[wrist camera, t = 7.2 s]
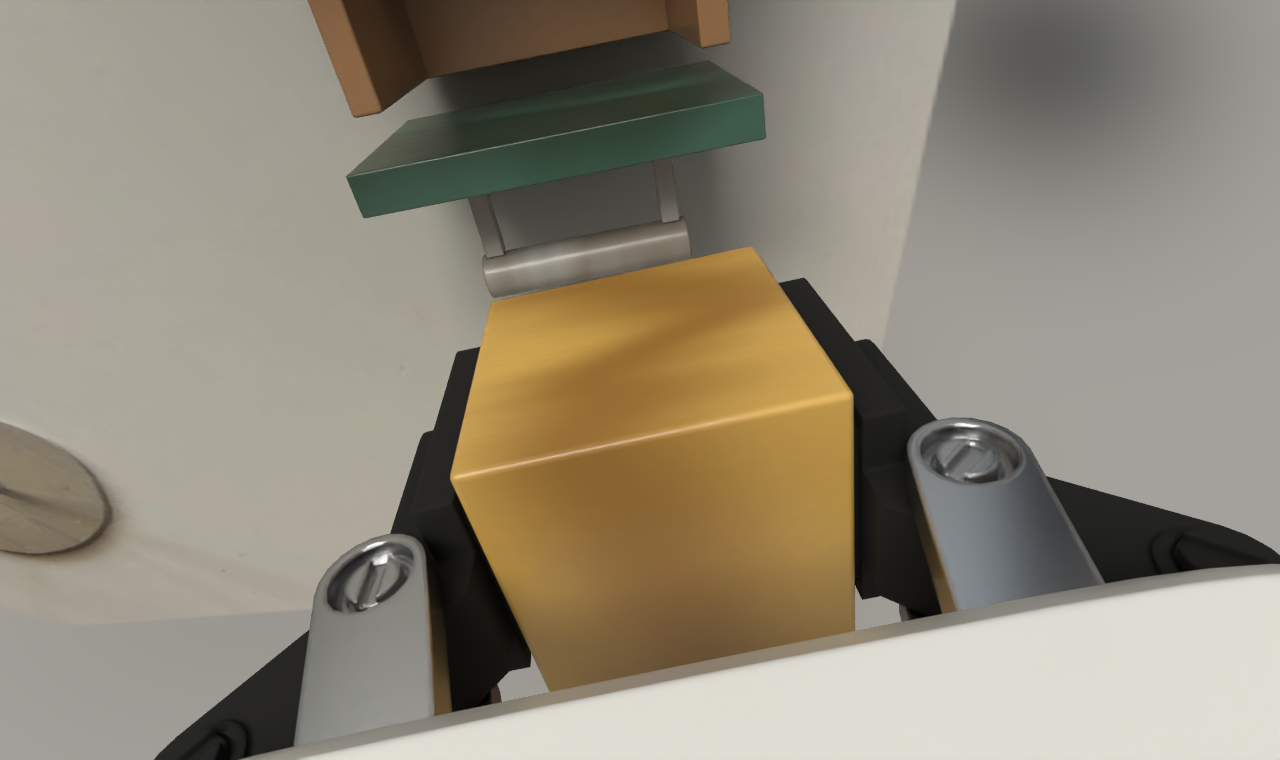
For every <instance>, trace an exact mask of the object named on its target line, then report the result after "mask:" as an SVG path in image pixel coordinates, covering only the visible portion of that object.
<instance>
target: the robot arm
mask: <svg viewBox="0 0 1280 760" xmlns="http://www.w3.org/2000/svg"><path fill="white" fill-rule="evenodd" d="M778 284H779V285H780V287H781V288H782V290H783V291H784V293H785V294H786V296H787V297H788V299H789V300H790V301H791V303H792V304H793V306H794V307H795V309H796V310H797V312H798V313H799V315H800V316H801V318H802V319H803V321H804V322H805V323H806V325H807V326H808V328H809V329H810V331H811V332H812V334H813V335H814V337H815V338H816V340H817V341H818V343H819V344H820V346H821V347H822V348H823V350H824V351H825V353H826V354H827V356H828V357H829V359H830V360H831V362H832V363H833V365H834V366H835V368H836V369H837V371H838V372H839V373H840V375H841V376H842V378H843V379H844V381H845V382H846V384H847V385H848V387H849V388H850V390H851V391H852V393H853V395H854V546H855V585H856V588H857V590H858V592H859V594H860V596H861V598H862V600H863V599H868V598H873V597H878V596H882V597H885V598H887V599H889V600H891V601H894V602H896V603H898V604H899V613H900V617H901V621H902V622H898V623H893V624H889V625H883V626H878V627H873V628H868V629H863V630H858V631H852V632H847V633H842V634H837V635H832V636H827V637H822V638H817V639H812V640H806V641H801V642H796V643H791V644H786V645H781V646H776V647H771V648H766V649H761V650H757V651H752V652H747V653H742V654H737V655H732V656H727V657H722V658H717V659H712V660H707V661H702V662H697V663H692V664H687V665H682V666H677V667H672V668H667V669H662V670H657V671H652V672H647V673H642V674H637V675H632V676H627V677H622V678H617V679H612V680H607V681H602V682H598V683H593V684H588V685H583V686H578V687H573V688H568V689H563V690H558V691H553V692H549V693H544V694H539V695H534V696H529V697H524V698H520V699H515V700H510V701H505V702H502V701H501V695H500V691H499V688H498V685H497V684H498V682H499V681H500V680H501V679H502V678H503V677H504V676H505V675H506V674H507V673H508V672H509V671H512V670H517V669H522V668H527V667H530V664H531V651H530V649H529V647H528V645H527V642H526V640H525V638H524V636H523V634H522V632H521V630H520V628H519V625H518V623H517V621H516V619H515V617H514V615H513V613H512V610H511V608H510V606H509V604H508V602H507V600H506V598H505V596H504V593H503V591H502V589H501V587H500V585H499V583H498V581H497V578H496V576H495V574H494V572H493V570H492V568H491V566H490V564H489V561H488V559H487V557H486V555H485V553H484V551H483V549H482V546H481V544H480V542H479V540H478V538H477V536H476V534H475V532H474V529H473V527H472V525H471V523H470V521H469V519H468V517H467V514H466V512H465V510H464V508H463V506H462V504H461V502H460V500H459V497H458V495H457V493H456V491H455V489H454V487H453V485H452V482H451V480H450V474H451V470H452V466H453V461H454V457H455V453H456V449H457V444H458V440H459V436H460V432H461V428H462V423H463V419H464V415H465V411H466V406H467V402H468V398H469V394H470V389H471V385H472V381H473V377H474V372H475V368H476V364H477V360H478V356H479V351H480V347H477V348H473V349H468V350H463V351H459V352H457V354H456V356H455V360H454V363H453V366H452V370H451V373H450V377H449V380H448V383H447V387H446V390H445V393H444V397H443V400H442V404H441V407H440V410H439V414H438V417H437V421H436V424H435V427H434V430H433V431H428V432H426V433H424V434H423V435H422V437H421V439H420V442H419V445H418V448H417V451H416V454H415V457H414V461H413V464H412V467H411V470H410V473H409V476H408V479H407V482H406V486H405V489H404V492H403V495H402V498H401V501H400V504H399V508H398V511H397V514H396V517H395V520H394V523H393V526H392V530H391V533H390V534H387V535H383V536H379V537H375V538H372V539H370V540H367V541H365V542H363V543H361V544H359V545H357V546H355V547H354V548H352V549H351V550H349V551H348V552H346V553H345V554H344V555H342V556H341V557H340V558H339V559H338V560H337V561H336V562H335V563H334V564H333V565H332V566H331V567H330V568H329V569H328V570H327V571H326V573H325V574H324V576H323V577H322V579H321V580H320V582H319V583H318V586H317V589H316V592H315V595H314V601H313V608H312V615H311V622H310V629H309V630H308V631H307V632H306V633H305V634H303V635H302V636H301V637H300V638H298V639H297V640H296V641H295V642H293V643H292V644H291V645H290V646H288V647H287V648H286V649H285V650H284V651H282V652H281V653H280V654H279V655H277V656H276V657H275V658H274V659H272V660H271V661H270V662H269V663H267V664H266V665H265V666H264V667H263V668H261V669H260V670H259V671H258V672H256V673H255V674H254V675H253V676H251V677H250V678H249V679H248V680H247V681H245V682H244V683H243V684H242V685H240V686H239V687H238V688H237V689H235V690H234V691H233V692H232V693H230V694H229V695H228V696H227V697H226V698H224V699H223V700H222V701H221V702H219V703H218V704H217V705H216V706H214V707H213V708H212V709H211V710H209V711H208V712H207V713H206V714H204V715H203V716H202V717H201V718H200V719H198V720H197V721H196V722H195V723H194V724H192V725H191V726H190V727H188V728H187V729H186V730H185V731H184V732H182V733H181V734H180V735H179V736H177V737H176V738H175V739H174V740H173V741H172V742H171V743H170V744H169V745H168V746H167V747H166V748H165V749H164V750H162V751H161V752H160V753H159V754H158V755H157V757H156V758H155V759H154V760H1280V555H1279V554H1277V553H1276V552H1275V551H1274V550H1272V549H1271V548H1269V547H1268V546H1266V545H1264V544H1263V543H1261V542H1259V541H1257V540H1255V539H1253V538H1252V537H1250V536H1248V535H1246V534H1243V533H1240V532H1237V531H1235V530H1232V529H1229V528H1226V527H1224V526H1221V525H1218V524H1214V523H1210V522H1206V521H1203V520H1200V519H1196V518H1192V517H1189V516H1185V515H1182V514H1179V513H1175V512H1171V511H1168V510H1164V509H1160V508H1157V507H1154V506H1150V505H1146V504H1143V503H1139V502H1136V501H1132V500H1129V499H1125V498H1122V497H1118V496H1115V495H1111V494H1107V493H1104V492H1100V491H1097V490H1093V489H1090V488H1086V487H1083V486H1079V485H1076V484H1072V483H1068V482H1064V481H1061V480H1058V479H1054V478H1050V477H1047V476H1045V474H1044V472H1043V471H1042V469H1041V467H1040V465H1039V463H1038V461H1037V460H1036V458H1035V456H1034V454H1033V452H1032V451H1031V449H1030V448H1029V447H1028V445H1027V444H1026V443H1025V442H1024V441H1023V439H1022V438H1021V437H1019V436H1018V435H1016V434H1015V433H1013V432H1012V431H1010V430H1009V429H1007V428H1004V427H1002V426H999V425H997V424H994V423H992V422H988V421H983V420H978V419H973V418H948V419H941V420H937V419H936V418H935V417H934V415H933V414H932V413H931V412H930V411H929V409H928V408H927V407H926V406H925V405H924V403H923V402H922V401H921V400H920V399H919V397H918V396H917V395H916V394H915V392H914V391H913V390H912V389H911V388H910V386H909V385H908V384H907V383H906V381H905V380H904V379H903V378H902V377H901V375H900V374H899V373H898V372H897V371H896V369H895V368H894V367H893V366H892V365H891V363H890V362H889V361H888V360H887V359H886V357H885V356H884V355H883V354H882V352H881V351H880V350H879V349H878V348H877V346H876V345H875V344H874V343H873V342H872V341H871V340H868V339H864V340H859V341H855V342H854V340H853V339H852V338H851V336H850V335H849V334H848V333H847V331H846V330H845V329H844V327H843V326H842V325H841V324H840V322H839V321H838V320H837V318H836V317H835V316H834V315H833V313H832V312H831V311H830V309H829V308H828V307H827V306H826V304H825V303H824V302H823V300H822V299H821V298H820V297H819V295H818V294H817V293H816V291H815V290H814V289H813V288H812V286H811V285H810V284H809V282H808V281H807V280H806V279H805V278H800V279H796V280H791V281H786V282H782V283H778Z"/></svg>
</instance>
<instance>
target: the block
mask: <svg viewBox="0 0 1280 760" xmlns="http://www.w3.org/2000/svg"><path fill="white" fill-rule="evenodd" d="M450 480H451V482H452V485H453V487H454V489H455V491H456V493H457V495H458V497H459V500H460V502H461V504H462V506H463V508H464V510H465V512H466V514H467V517H468V519H469V521H470V523H471V525H472V527H473V529H474V532H475V534H476V536H477V538H478V540H479V542H480V544H481V546H482V549H483V551H484V553H485V555H486V557H487V559H488V561H489V564H490V566H491V568H492V570H493V572H494V574H495V576H496V578H497V581H498V583H499V585H500V587H501V589H502V591H503V593H504V596H505V598H506V600H507V602H508V604H509V606H510V608H511V610H512V613H513V615H514V617H515V619H516V621H517V623H518V625H519V628H520V630H521V632H522V634H523V636H524V638H525V640H526V642H527V645H528V647H529V649H530V651H531V653H532V655H533V657H534V659H535V662H536V664H537V666H538V668H539V670H540V672H541V674H542V676H543V679H544V681H545V683H546V685H547V687H548V689H549V691H550V692H553V691H558V690H563V689H568V688H573V687H578V686H583V685H588V684H593V683H598V682H602V681H607V680H612V679H617V678H622V677H627V676H632V675H637V674H642V673H647V672H652V671H657V670H662V669H667V668H672V667H677V666H682V665H687V664H692V663H697V662H702V661H707V660H712V659H717V658H722V657H727V656H732V655H737V654H742V653H747V652H752V651H757V650H761V649H766V648H771V647H776V646H781V645H786V644H791V643H796V642H801V641H806V640H812V639H817V638H822V637H827V636H832V635H837V634H842V633H847V632H852V631H855V546H854V395H853V393H852V391H851V390H850V388H849V387H848V385H847V384H846V382H845V381H844V379H843V378H842V376H841V375H840V373H839V372H838V371H837V369H836V368H835V366H834V365H833V363H832V362H831V360H830V359H829V357H828V356H827V354H826V353H825V351H824V350H823V348H822V347H821V346H820V344H819V343H818V341H817V340H816V338H815V337H814V335H813V334H812V332H811V331H810V329H809V328H808V326H807V325H806V323H805V322H804V321H803V319H802V318H801V316H800V315H799V313H798V312H797V310H796V309H795V307H794V306H793V304H792V303H791V301H790V300H789V299H788V297H787V296H786V294H785V293H784V291H783V290H782V288H781V287H780V285H779V284H778V282H777V281H776V279H775V278H774V276H773V275H772V274H771V272H770V271H769V269H768V268H767V266H766V265H765V263H764V262H763V260H762V259H761V257H760V256H759V254H758V253H757V251H756V250H755V249H754V247H745V248H740V249H736V250H731V251H726V252H722V253H717V254H712V255H708V256H703V257H698V258H694V259H689V260H684V261H680V262H675V263H670V264H666V265H661V266H657V267H652V268H647V269H643V270H638V271H633V272H629V273H624V274H619V275H615V276H610V277H605V278H601V279H596V280H591V281H587V282H582V283H578V284H573V285H568V286H564V287H559V288H554V289H550V290H545V291H540V292H536V293H531V294H526V295H522V296H517V297H512V298H508V299H503V300H499V301H494V302H493V303H491V305H490V309H489V313H488V317H487V322H486V326H485V330H484V334H483V339H482V343H481V347H480V351H479V356H478V360H477V364H476V368H475V372H474V377H473V381H472V385H471V389H470V394H469V398H468V402H467V406H466V411H465V415H464V419H463V423H462V428H461V432H460V436H459V440H458V444H457V449H456V453H455V457H454V461H453V466H452V470H451V474H450Z"/></svg>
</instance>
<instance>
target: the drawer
mask: <svg viewBox="0 0 1280 760" xmlns="http://www.w3.org/2000/svg"><path fill="white" fill-rule="evenodd" d="M308 3H309V5H310V8H311V10H312V13H313V15H314V18H315V21H316V23H317V26H318V28H319V31H320V33H321V36H322V38H323V41H324V44H325V46H326V49H327V51H328V54H329V56H330V59H331V61H332V64H333V67H334V69H335V72H336V74H337V77H338V79H339V82H340V85H341V87H342V90H343V92H344V95H345V97H346V100H347V102H348V105H349V108H350V110H351V113H352V115H353V116H354V117H356V118H358V117H363V116H368V115H373V114H378V113H381V112H383V111H384V110H385V109H387V108H388V107H389V106H391V105H392V104H394V103H395V102H396V101H398V100H399V99H400V98H402V97H403V96H404V95H406V94H407V93H409V92H410V91H411V90H413V89H414V88H415V87H417V86H418V85H420V84H421V83H422V82H424V81H425V80H426V79H430V78H435V77H440V76H445V75H450V74H455V73H459V72H464V71H469V70H474V69H479V68H484V67H489V66H494V65H499V64H504V63H509V62H514V61H519V60H524V59H529V58H534V57H539V56H544V55H549V54H554V53H559V52H564V51H569V50H574V49H579V48H584V47H589V46H594V45H599V44H604V43H609V42H614V41H619V40H624V39H629V38H634V37H639V36H644V35H649V34H654V33H659V32H664V31H669V30H670V31H672V32H673V33H675V34H677V35H679V36H681V37H683V38H684V39H686V40H688V41H690V42H692V43H693V44H695V45H697V46H699V47H701V48H708V47H713V46H718V45H723V44H728V43H730V42H731V34H730V22H729V10H728V0H308ZM765 138H766V133H765V116H764V99H763V93H761V92H760V91H758V90H756V89H755V88H753V87H751V86H750V85H748V84H747V83H745V82H743V81H742V80H740V79H738V78H737V77H735V76H733V75H732V74H730V73H729V72H727V71H725V70H724V69H722V68H720V67H719V66H717V65H716V64H714V63H712V62H711V61H703V62H698V63H693V64H688V65H683V66H678V67H673V68H668V69H663V70H658V71H653V72H648V73H643V74H638V75H633V76H628V77H623V78H618V79H613V80H608V81H603V82H598V83H593V84H588V85H583V86H578V87H573V88H568V89H563V90H558V91H553V92H548V93H543V94H538V95H533V96H528V97H523V98H518V99H513V100H508V101H503V102H498V103H493V104H488V105H483V106H478V107H473V108H468V109H463V110H458V111H453V112H448V113H443V114H438V115H433V116H428V117H423V118H418V119H413V120H408V121H407V122H406V123H405V124H404V125H403V126H401V127H400V128H399V129H398V130H397V131H396V132H395V133H394V134H393V135H391V136H390V137H389V138H388V139H387V140H386V141H385V142H384V143H383V144H382V145H380V146H379V147H378V148H377V149H376V150H375V151H374V152H373V153H372V154H370V155H369V156H368V157H367V158H366V159H365V160H364V161H363V162H362V163H361V164H359V165H358V166H357V167H356V168H355V169H354V170H353V171H352V172H351V173H349V174H348V175H347V176H346V178H347V180H348V183H349V185H350V187H351V190H352V192H353V195H354V197H355V199H356V202H357V204H358V207H359V209H360V211H361V214H362V216H363V218H369V217H374V216H379V215H384V214H389V213H394V212H399V211H404V210H410V209H415V208H420V207H425V206H430V205H435V204H440V203H445V202H450V201H455V200H460V199H465V198H468V200H469V203H470V206H471V209H472V212H473V215H474V219H475V222H476V225H477V228H478V231H479V234H480V237H481V241H482V244H483V247H484V250H485V253H486V255H484V256H483V261H482V265H483V273H484V277H485V281H486V285H487V287H488V290H489V292H490V294H491V295H492V297H494V298H498V297H503V296H508V295H513V294H518V293H523V292H528V291H533V290H538V289H543V288H548V287H554V286H559V285H564V284H569V283H574V282H579V281H584V280H589V279H594V278H599V277H604V276H610V275H615V274H620V273H625V272H630V271H635V270H640V269H645V268H650V267H655V266H660V265H666V264H670V263H675V262H680V261H684V260H689V259H691V244H690V237H689V232H688V227H687V223H686V220H685V218H684V217H683V216H680V217H679V210H678V203H677V196H676V189H675V181H674V174H673V167H672V160H671V158H672V157H677V156H682V155H687V154H692V153H697V152H702V151H707V150H712V149H717V148H722V147H727V146H732V145H737V144H742V143H747V142H752V141H757V140H762V139H765ZM651 161H652V167H653V173H654V179H655V186H656V192H657V199H658V205H659V212H660V217H661V220H659V221H654V222H649V223H644V224H639V225H634V226H629V227H624V228H619V229H614V230H609V231H603V232H598V233H593V234H588V235H583V236H578V237H573V238H568V239H563V240H558V241H553V242H548V243H543V244H538V245H532V246H527V247H522V248H517V249H512V250H507V251H505V245H504V242H503V238H502V235H501V232H500V228H499V225H498V222H497V218H496V215H495V212H494V208H493V205H492V202H491V198H490V195H489V194H490V193H495V192H500V191H505V190H510V189H515V188H520V187H525V186H531V185H536V184H541V183H546V182H551V181H556V180H561V179H566V178H571V177H576V176H581V175H586V174H591V173H596V172H601V171H606V170H611V169H616V168H621V167H626V166H631V165H636V164H641V163H646V162H651Z"/></svg>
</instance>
